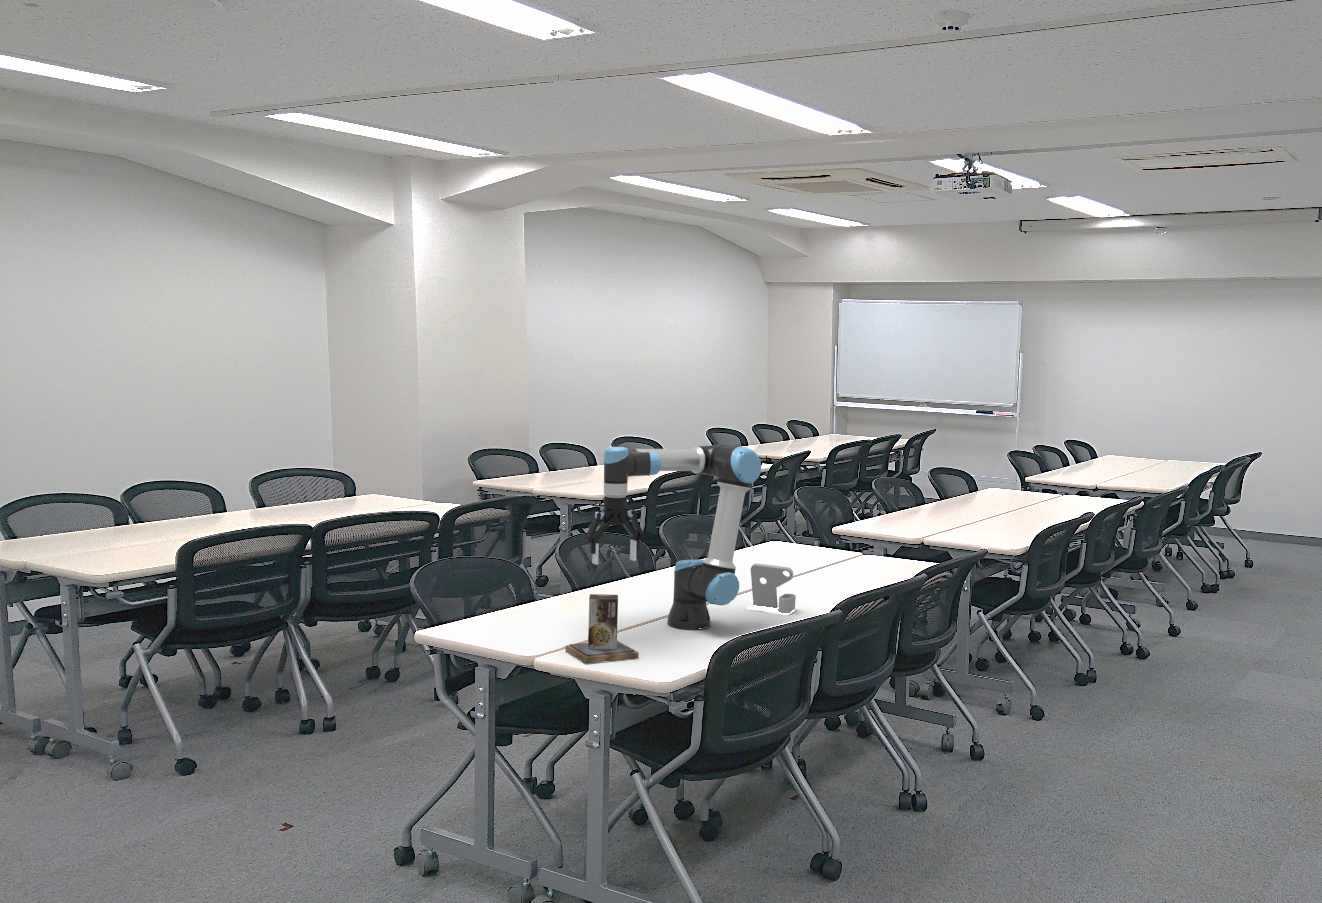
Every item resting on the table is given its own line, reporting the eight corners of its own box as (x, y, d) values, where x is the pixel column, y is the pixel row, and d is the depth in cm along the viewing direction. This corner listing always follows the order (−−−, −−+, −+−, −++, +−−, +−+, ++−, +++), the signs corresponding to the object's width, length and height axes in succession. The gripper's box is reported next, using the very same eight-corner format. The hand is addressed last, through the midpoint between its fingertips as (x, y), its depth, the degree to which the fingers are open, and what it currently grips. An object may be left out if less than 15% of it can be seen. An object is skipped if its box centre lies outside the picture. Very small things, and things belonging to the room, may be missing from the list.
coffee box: (616, 644, 340) (618, 594, 339) (616, 650, 334) (618, 598, 332) (587, 644, 340) (589, 593, 338) (587, 649, 333) (589, 597, 332)
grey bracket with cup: (797, 611, 410) (799, 564, 408) (788, 616, 401) (791, 568, 399) (754, 605, 417) (756, 559, 416) (744, 610, 408) (747, 562, 406)
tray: (616, 646, 348) (617, 638, 348) (638, 658, 335) (638, 650, 334) (565, 651, 339) (565, 643, 339) (585, 664, 326) (585, 656, 326)
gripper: (643, 492, 352) (642, 556, 354) (574, 496, 339) (573, 563, 341) (655, 495, 345) (654, 560, 347) (585, 499, 332) (584, 567, 335)
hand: (614, 562), depth 344 cm, fingers open, 13 cm apart
